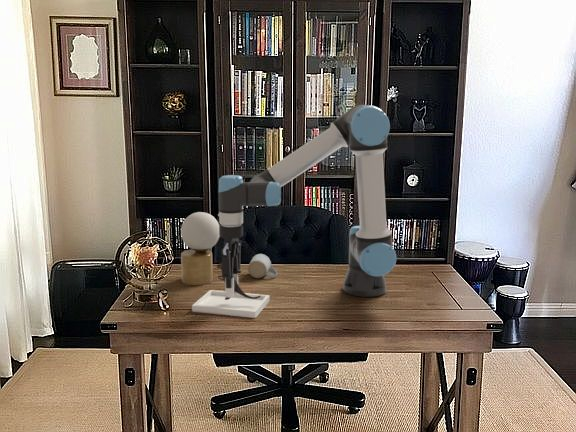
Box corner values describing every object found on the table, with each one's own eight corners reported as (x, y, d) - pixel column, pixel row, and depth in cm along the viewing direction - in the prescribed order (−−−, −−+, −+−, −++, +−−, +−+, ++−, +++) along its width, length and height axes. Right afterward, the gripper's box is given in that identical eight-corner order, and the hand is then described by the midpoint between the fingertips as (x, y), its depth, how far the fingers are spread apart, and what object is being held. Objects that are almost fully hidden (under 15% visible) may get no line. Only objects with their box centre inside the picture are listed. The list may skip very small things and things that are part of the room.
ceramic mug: (247, 278, 236) (247, 258, 234) (251, 272, 244) (251, 252, 242) (275, 280, 235) (275, 260, 233) (278, 274, 243) (279, 254, 241)
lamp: (198, 271, 245) (197, 207, 240) (228, 277, 238) (227, 211, 232) (172, 281, 232) (170, 214, 227) (202, 288, 225) (201, 218, 220)
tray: (269, 301, 212) (269, 295, 212) (255, 318, 197) (255, 311, 197) (210, 295, 217) (210, 289, 217) (192, 311, 202) (191, 305, 202)
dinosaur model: (217, 261, 206) (263, 264, 205) (216, 295, 209) (261, 298, 208) (215, 265, 202) (262, 268, 201) (214, 299, 205) (260, 303, 204)
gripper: (228, 218, 210) (229, 286, 215) (210, 229, 195) (211, 302, 199) (250, 219, 208) (250, 288, 213) (233, 231, 193) (234, 304, 198)
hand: (231, 294), depth 206 cm, fingers closed on dinosaur model, 3 cm apart
